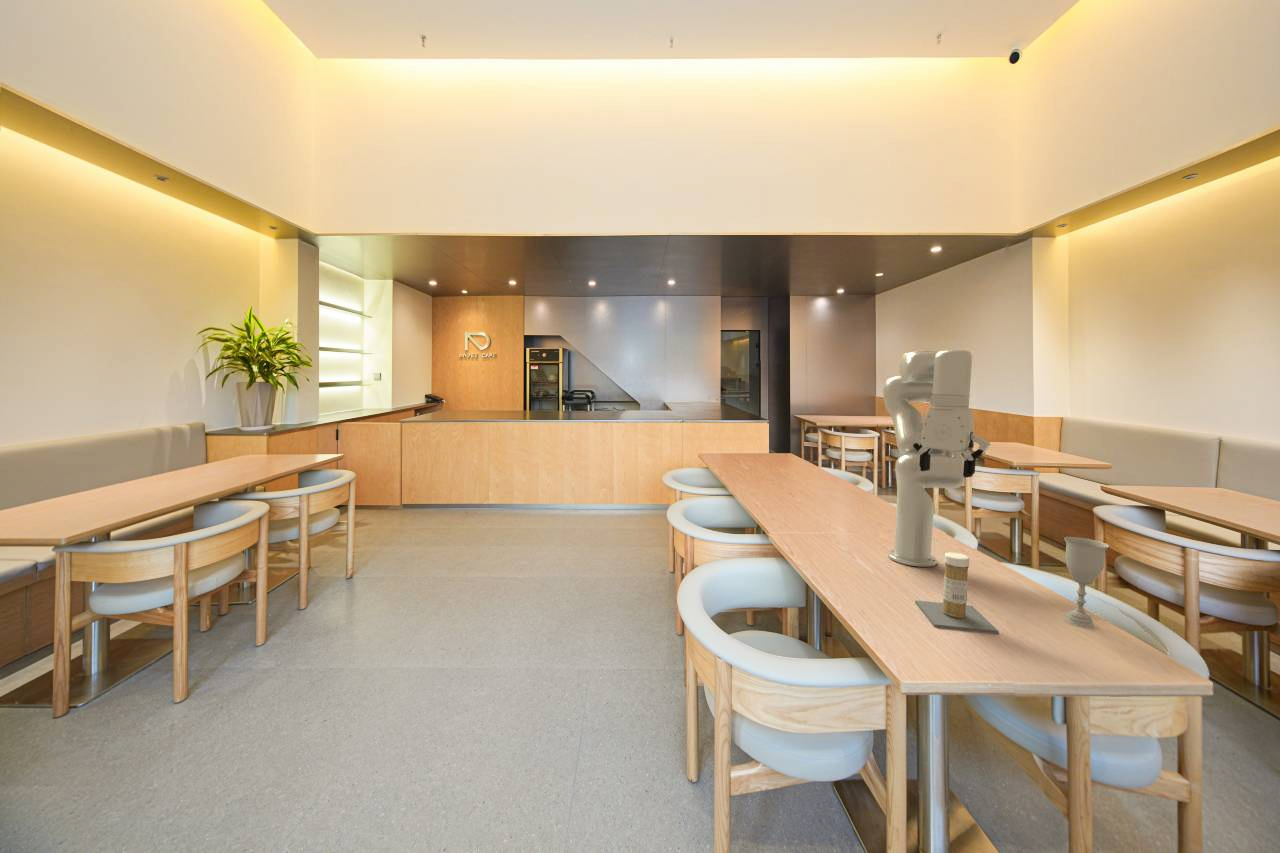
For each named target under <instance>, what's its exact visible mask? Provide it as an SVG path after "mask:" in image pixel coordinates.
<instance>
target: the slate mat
mask: <svg viewBox="0 0 1280 853" xmlns="http://www.w3.org/2000/svg"><path fill="white" fill-rule="evenodd" d="M914 601H915V602H914V603H915V605H916V606H917V607H918V609H919V610H921V612H922V613H923V614H924V616H925V617H926V618H927V619H928V621H929V622H930V624H932V626H933V627H934V628H939V629H940V628H941V629H949V630H957V631H968V632H979V633H987V634H997V635H998V634H999V629H997V628H996V627H995V626H994V625H993V624H992V623H991V622H990V621H989V620H988V619H987V618H986V617H985V616H983V614H982V613H981V612H980V611H978V610H977V609H976V607H974V606H973V605H968V604H966V617H964V618H954V617H951V616H948V615H946V614H944V613H943V611H942V609H943V602H935V601H927V600H917V599H916V600H914Z"/></svg>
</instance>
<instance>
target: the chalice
mask: <svg viewBox="0 0 1280 853" xmlns="http://www.w3.org/2000/svg"><path fill="white" fill-rule="evenodd" d="M1063 540H1064V542H1065V543H1066V544H1065V556H1064V558H1065V559H1064V561H1065V563H1066V567H1067V569H1068V571H1069V573H1070V576H1071V577H1072V579H1073V581H1074V582H1076V583H1078V588H1077V590H1076V593H1077V595H1078V596H1077V598H1075V601H1076V604H1077V605H1076V608H1074V609H1070V610H1069V611H1068V612H1067V613H1066V614H1065V616H1064V617H1063V620H1064V622H1066V623H1068V624H1070V625H1073V626H1076V627H1080V628H1084V629H1085V628H1086V629H1094V628H1095V627H1096V626H1094V625H1095V624H1094V622H1093V619H1092V616H1091V614H1089V613H1088V612H1087V611H1086V610H1084V605H1085V604H1086V603H1087V600H1085V596H1086V595H1087V592H1086V586H1088V585H1092V584H1093V583H1094V582H1095V581H1096V579H1097V578H1099V576H1101V573H1102V572H1103V571H1104V568H1105V559H1106V551H1107V550H1108V548H1109V547H1110V545H1109V544H1108V543H1105V542H1103V541H1099V540H1096V539H1090V538H1085V537H1077V536H1065V537H1063Z"/></svg>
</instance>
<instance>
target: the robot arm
mask: <svg viewBox="0 0 1280 853" xmlns="http://www.w3.org/2000/svg"><path fill="white" fill-rule="evenodd" d="M972 364H973V355H972V353H971V352H970V351H969V350H965V349H949V350H930V349H929V350H928V349H927V350H915V351H911V352H905V353H903V354H902V356H901V359H900V361H899V365H898V366H899V368H898V369H899V375H896V376H893V377H890V378H888V379H886V381H885V382H884V383H883V384H884V385H883V390H882V392H883V393H882V395H883V396H882V397H883V401H884V406H885V408H886V410H887V412H888V414H889V415H890V418H891V420H892V423H893V428H894V435H895V441H896V446H897V450H898V452H899V453H900V454H901V456H900V457H898V458H897V459H896V461H895V465H894V468H895V471H894V472H895V478H896V479H895V480H896V488H897V489H896V510H895V527H894V528H895V529H894V530H895V531H894V546H893V547H894V548H893V549H891V550H889V551H888V553H887V555H888V558H889V559H891V560H893V561H894V562H897V563H899V564H901V565H902V564H903V565H907V566H912V567H921V568H922V567H923V568H924V567H925V568H927V567H928V568H929V567H934V566H936V565H937V564H938V561H937V560H938V559H937V558H936V557H935V556H933V555H932V544H933V543H932V542H933V541H932V540H933V528H934V526H933V524H934V509H935V503H934V501H933V498H932V497H931V496H930V495H929V493H928V492H927V491H926V490H925V489H926V488H927V489H930V488H935V489H949V490H950V489H951V490H952V489H959V488H960V487H962V486H963V485H964V484H965V481H966V478H971V477H973V476H974V474H975V473H976V461H978V459H979V458H980V457H982V456H983V455H985V454H986V451H987V450H988V449H989V448H990V446H991V442H989V441H988V440H986V439H984V438H982V437H980V436H979V435H976V434H975V421H974V420H975V419H974V415H973V414H974V413H973V410H972V408H970V395H971V393H970V392H971V381H972V380H971V379H972V366H973V365H972ZM911 403H928V404H929V403H930V407H927V409H926V411H925V415H924V416H923V414H922V413H921V412H920V411H919V409H917V407H915V406H914V405H912V404H911ZM975 444H977V445H979V447H978V449H977V450H975V451H974V447H975V446H974V445H975ZM962 454H963V455H964V457H965V458H966V459H965V460H964V458H963V456H962Z"/></svg>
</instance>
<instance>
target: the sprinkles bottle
mask: <svg viewBox="0 0 1280 853" xmlns="http://www.w3.org/2000/svg"><path fill="white" fill-rule="evenodd" d="M943 562H944V576H943V592H942V596H943V599H942V603H943V609H942V611H943V613H944V614H946V615H948V616H951V617H954V618H964V617H966V605H967V599H968V575H969V574H968V571H969V566H970V558H969V556H968V555H965V554H964V553H959V552H946V553H945V554H944V560H943Z"/></svg>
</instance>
